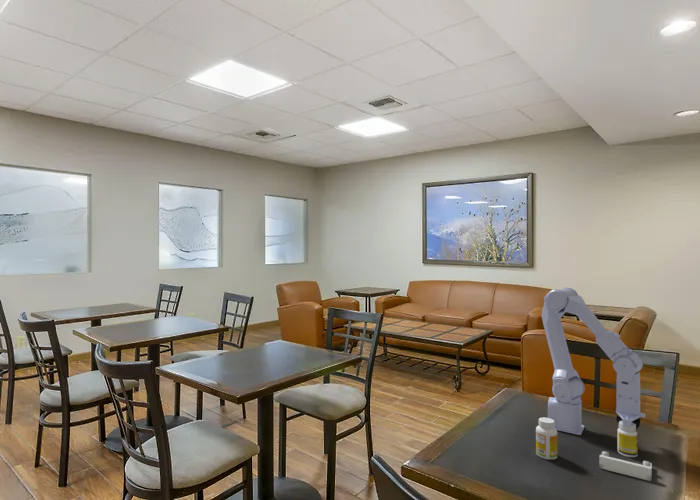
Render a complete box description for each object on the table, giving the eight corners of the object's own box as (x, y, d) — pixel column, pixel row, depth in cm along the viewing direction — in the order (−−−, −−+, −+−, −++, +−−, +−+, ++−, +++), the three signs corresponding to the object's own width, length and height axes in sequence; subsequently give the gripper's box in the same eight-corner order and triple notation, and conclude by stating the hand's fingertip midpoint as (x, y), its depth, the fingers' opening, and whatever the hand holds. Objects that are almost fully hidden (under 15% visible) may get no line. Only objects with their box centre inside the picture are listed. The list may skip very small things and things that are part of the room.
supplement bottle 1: (556, 452, 119) (556, 417, 119) (558, 461, 114) (558, 425, 114) (535, 449, 120) (535, 415, 120) (536, 458, 115) (536, 422, 115)
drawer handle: (599, 468, 110) (599, 456, 110) (602, 455, 117) (602, 444, 117) (651, 481, 104) (651, 469, 104) (651, 467, 110) (651, 456, 110)
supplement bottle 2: (641, 458, 115) (640, 427, 115) (621, 457, 116) (621, 426, 116) (632, 450, 120) (632, 420, 120) (614, 448, 121) (614, 419, 121)
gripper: (644, 406, 114) (645, 457, 114) (645, 391, 126) (645, 437, 126) (613, 401, 118) (613, 450, 118) (617, 387, 130) (617, 431, 130)
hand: (628, 443), depth 122 cm, fingers closed
